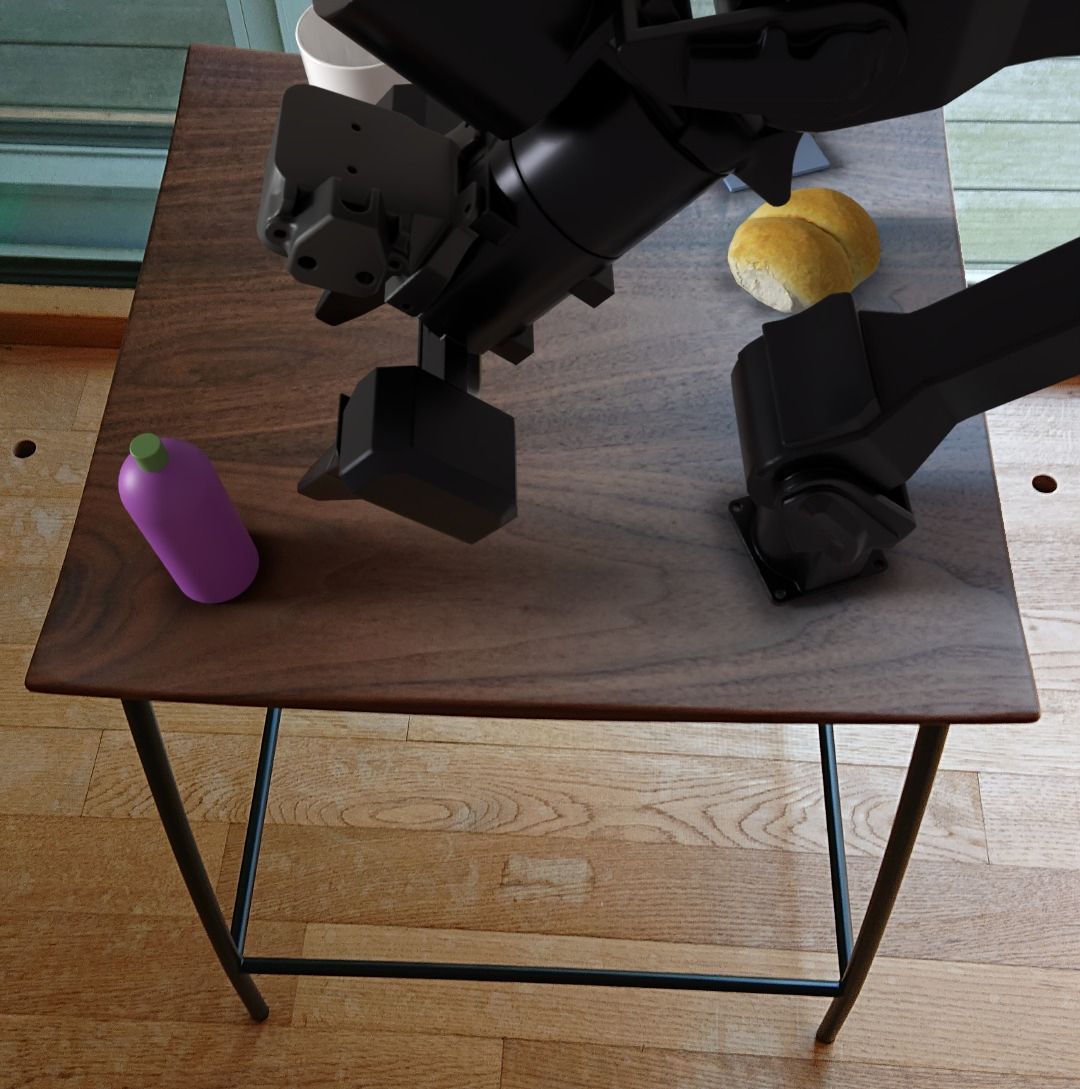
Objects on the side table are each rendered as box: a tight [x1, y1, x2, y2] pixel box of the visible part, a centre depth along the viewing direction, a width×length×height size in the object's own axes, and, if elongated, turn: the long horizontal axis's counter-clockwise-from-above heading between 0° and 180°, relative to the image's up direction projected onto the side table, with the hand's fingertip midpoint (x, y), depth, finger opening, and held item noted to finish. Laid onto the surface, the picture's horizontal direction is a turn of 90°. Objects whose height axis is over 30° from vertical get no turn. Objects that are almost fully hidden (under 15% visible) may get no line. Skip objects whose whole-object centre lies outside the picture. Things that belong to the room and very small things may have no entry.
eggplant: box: [117, 432, 260, 604], centre depth 53 cm, size 4×4×11 cm
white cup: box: [295, 3, 412, 105], centre depth 69 cm, size 8×8×10 cm
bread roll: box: [727, 187, 882, 314], centre depth 65 cm, size 8×9×4 cm
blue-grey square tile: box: [722, 133, 831, 193], centre depth 72 cm, size 7×7×1 cm
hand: (315, 401), depth 46 cm, fingers open, 9 cm apart
